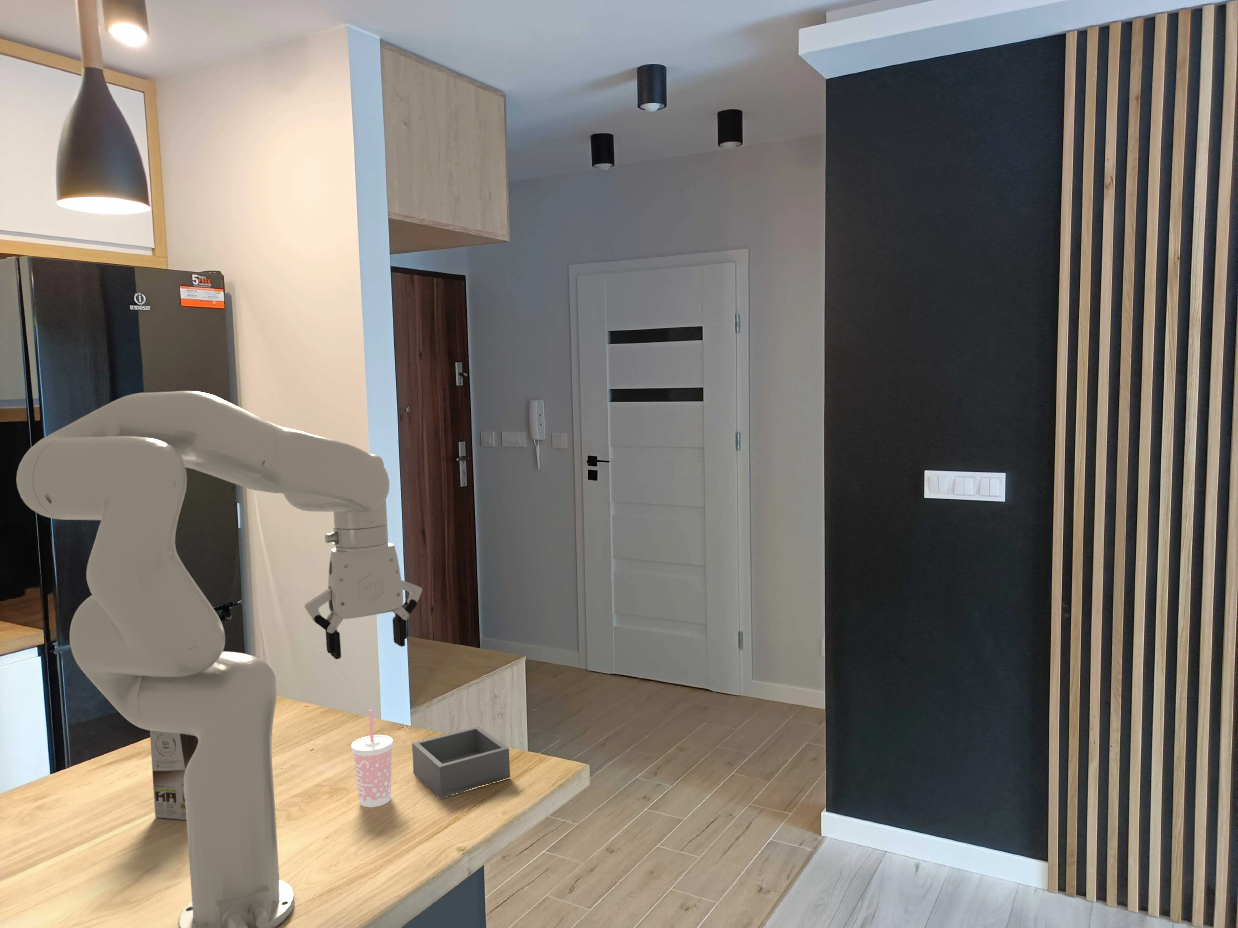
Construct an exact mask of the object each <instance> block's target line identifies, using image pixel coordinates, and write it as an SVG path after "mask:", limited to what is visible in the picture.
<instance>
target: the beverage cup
mask: <svg viewBox="0 0 1238 928" xmlns="http://www.w3.org/2000/svg"><path fill="white" fill-rule="evenodd" d="M368 717H369V720H368V721H369V732H370V733H369V735H367V736H363V737H360V738H357V739H355V740H354V741H352V742H351V745H350V747H351V751H352V754H353V759H354V760H353V761H354V768H355V776H356V785H357V791H358V792H357V793H358V801H359V802H358V803H359V804H360V806H363V807H367V808H375V807H381V806H383V805H385V804H387V803H388V802H390V801H391V799H392V795H391V794H392V750H393V749H392V748H393V747H394V739H393V738H392V737H391V736H389V735H385V734H374V721H373V720H374V718H373V709H369V710H368Z"/></svg>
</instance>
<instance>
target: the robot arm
mask: <svg viewBox="0 0 1238 928" xmlns="http://www.w3.org/2000/svg"><path fill="white" fill-rule="evenodd" d="M186 468H187V469H192V470H195V471H197V472H201V473H203V474H207V475H210V476H212V477H215V478H218V479H221V480H224V481H226V482H230V483H232V484H235V485H238V486H240V487H242V488H245V489H248V490H253V491H259V492H264V493H270V494H271V493H272V494H283V495H284V498H285V499H286V501H287V502H288V503H289V504H290V505H291V506H292V507H294V508H296V509H298V510H302V511H306V512H316V513H319V512H323V513H327V512H329V513H331V512H333V522H334V523H333V524H334V527H333V530H332V532H330V533H325V535H324V541H325V543H326V544H333V545H334V546H335V547H334V548H332V549H331V551H330V558H329V564H328V565H329V566H328V575H327V576H328V579H327V581H328V582H327V589H326V590H324V591H323V592H321V593H320V594H318V595H316V596H315V597H313V598H312V599H311V600H310V601H308V602H306V603H305V605H304V609H305V611H306V612H307V614H308V615H309V617H310V618H311V620H312V621H313V622H314V623H315V624H317V625H318V626H319V627H321V628H322V629H323V630H324V631H325V644H326V651H327V653H328V654H330V655H331V657H333V659H335V660H338V659H339V660H340V659H341V658H342V648H341V647H342V646H341V635H340V634H341V633H340V632H339V631H338V627H339V626H340V625H341V623H342V622H343V620H349V619H357V618H363V617H370V616H374V615H381V614H386V613H394V616H393V617H392V632H393V633H392V634H393V643H394V644H395V645H398V646H399V647H406V640H407V639H408V627H407V626H408V623H407V620H408V619H409V618H410V615H411V614H412V612H414V610H415V608H416V607H417V606H418V601H419V600H420V597H421V594H422V592H423V588H422V587H420V586H418V585H416V584H412V583H411V582H407V581H405V580H402V576H401V570H400V565H399V558H398V554H397V549H396V546H395V544H394V543H391V542H389V532H388V531H389V530H388V515H387V514H388V513H387V512H388V511H387V498H388V496H389V491H390V479H389V478H390V477H389V474H388V472H387V469H386V468H385V464H384V461H383V458H382V457H381V456H380V455H378V454H374V453H368V452H366V451H364V450H363V449H361V448H358V447H356V446H355V445H351V444H348V443H346V442H341V441H339V440H335V439H331V438H326V437H323V436H319V435H315V434H310V433H307V432H304V431H300V430H296V429H292V428H288V427H283V426H281V425H278V424H275V423H273V422H270V421H268V420H266V419H264V418H262V417H259V416H257V415H255V414H253V413H251V412H249V411H247V410H245V409H243V408H241V407H239V406H237V405H235V404H233V403H231V402H229V401H227V400H224V399H223V398H221V397H218V396H217V395H213V394H212V393H211V394H210V393H206V392H201V391H197V390H195V391H193V390H180V391H157V392H152V391H151V392H138V393H132V394H129V395H124V396H122V397H120V398H118V399H115V400H113V401H110V402H109V403H107V404H105V405H102V406H101V407H100V408H97V409H95V410H94V411H93V410H92V411H91V412H90V413H88V414H86V415H84V416H82V417H80V418H78V419H76V420H75V421H73V422H70V423H69V424H68V425H65V426H63V427H61V428H60V429H57V430H55V431H54V432H52V433H51V434H48V435H46V436H45V437H43V438H41V439H39V441H37V442H36V443H35V444H34V445H33V446H31V447H30V448H28V450H27V452H25V454H24V455H23V457H22V459H21V461H20V462H19V465H18V468H17V471H16V478H15V479H16V487H17V491H18V493H19V495H20V496H19V497H20V498H21V499H22V501H23V503H24V504H25V505H26V507H28V508H29V509H31V511H34V512H35V513H37V514H39V516H42V517H47V518H50V519H55V520H62V521H66V520H67V521H70V520H71V521H72V520H73V521H77V520H78V521H79V520H80V521H100V523H99V525H98V529H97V532H96V537H95V540H94V542H93V546H92V549H91V552H90V555H89V558H88V561H87V566H86V571H85V572H86V573H85V574H86V576H85V577H86V582H87V585H88V588H89V592H90V594H91V595H89V597H87V598H85V600H84V601H82V603H81V604H80V605H79V606H78V608H76V610H75V612H74V615H73V617H72V619H71V623H70V629H69V644H70V649H71V653H72V656H73V658H74V661H75V662H76V664H77V666H78V668H79V669H80V670H81V671H82V673H83V674H84V675H85V677H87V678H88V679H89V681H90V682H91V683H93V685H94V686H95V687H96V688H97V689H98V690H99V692H101V694H102V695H103V696H104V697H105V698H106V700H108V702H109V703H110V704H111V705H112V706H113V707H114V708H115V710H116V711H118V713H120V715H121V716H122V717H123V718H125V719H126V720H127V721H128V722H129V723H130V724H133V725H134V726H135V727H138V728H140V729H142V730H146V731H150V730H151V731H158V732H168V733H179V734H186V735H192V736H196V737H197V738H198V745H197V748H196V750H195V752H194V754H193V755H192V757H191V759H190V761H189V763H188V765H187V767H186V770H185V775H184V798H185V806H186V820H185V822H186V831H187V832H186V833H187V847H188V861H189V862H188V863H189V874H190V889H191V891H190V892H191V901H190V902H189V903H188V904H187V905H186V906H185V907H184V908H183V909H182V910H181V913H180V915H179V916H178V922H177V923H178V928H277V927H278V925H280V924H281V923H283V922H284V921H285V919H286V918H287V917H289V916H290V914H291V912H292V911H293V909H294V906H295V892H294V889H293V888H292V886H291V885H290V884H288V883H287V882H285V881H283V880H280V867H279V852H278V849H279V848H278V835H277V821H276V820H277V819H276V803H275V787H274V776H273V775H274V774H273V755H272V754H273V752H272V751H273V750H272V745H273V744H272V743H273V741H272V740H273V727H274V726H273V724H274V720H275V719H274V718H275V712H276V711H275V710H276V705H277V696H278V683H277V678H276V675H275V672H274V671H273V669H272V668H271V666H269V664H267V662H265V661H264V660H262V659H261V658H259V657H257V656H254V655H250V654H247V653H243V652H236V651H224V650H225V646H226V645H225V644H226V633H225V629H224V626H223V623H222V621H221V619H220V616H219V615H218V613H217V612H216V610H215V609H214V607H213V606H212V604H211V603H210V601H209V599H208V598H207V597H206V596H205V594H204V593H203V591H202V590H201V588H200V587H199V585H198V584H197V583H196V582H195V580H194V578H193V577H192V576H191V574H190V573H189V571H188V570H187V569H186V567H185V565H184V563H183V562H182V560H181V558H180V556H179V554H178V551H177V547H176V534H177V533H176V532H177V527H178V521H179V516H180V514H181V510H182V506H183V503H184V499H185V495H186V492H187V484H188V482H187V480H188V477H187V469H186ZM403 591H406V592H408V593H409V594H408V598H407V599H406V600H405V601H404V592H403ZM327 603H328V608H329V611H330V613H329V614H328V616H327V617H326V618H325V617H323V615H321V612H320V611H319V610H320V607H322V606H323V605H325V604H327Z"/></svg>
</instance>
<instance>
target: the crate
mask: <svg viewBox="0 0 1238 928" xmlns="http://www.w3.org/2000/svg"><path fill="white" fill-rule="evenodd" d="M411 748H412V768H413V770H412V771H413V774H414V775H415V776H416V777H417V778H418V779H419V780H420V781H422V782H423V783H424V784H425V785H426V786H427V787H428V789H429V790H431V789H432V790H431V791H432V792H433V791H434V792H433V793H434V794H435V793H436V794H437V795H438V796H439V797H440V798H443V799H445V798H444V797H446V798H448V797H447V796H450V795H452V794H456V793H460V794H462V793H461V792H464V791H466V790H469V789H472V788H475V787H478V786H482V785H486V784H490V783H493V782H497V781H500V780H503V779H506V778H509V777H510V778H511V772H510V771H511V769H510V768H511V767H510V747H508V746H506V745H505V744H503V743H502V742H501V741H499V740H498V739H496V738H495V737H494V736H492V735H491V734H489V733H488V732H487V731H486V730H484V729H483V728H481V727H480V726H475V727H470V728H467V729H466V728H465V729H462V730H459V731H455V732H451V733H446V734H443V735H438V736H434V737H430V738H426V739H423V740H422V739H421V740H418V741H414V742H411ZM464 793H465V792H464ZM436 794H435V795H436ZM437 795H436V796H437ZM438 796H437V797H438ZM439 797H438V798H439ZM450 797H451V796H450ZM440 798H439V799H440Z"/></svg>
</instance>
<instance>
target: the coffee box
mask: <svg viewBox="0 0 1238 928" xmlns="http://www.w3.org/2000/svg"><path fill="white" fill-rule="evenodd" d="M149 736H150V738H149V739H150V751H151V752H150V754H151V756H150V757H151V771H152V788H153V789H152V790H153V799H154V800H153V801H154V803H153V805H154V816H155V818H158V819H159V818H162V819H169V820H170V819H171V820H172V819H173V820H183V821H186V806H185V798H184V775H185V770H186V767H187V765H188V763H189V761H190V759H191V757H192V755H193V754H194V752H195V750H196V748H197V745H198V738H197V737H196V736H192V735H186V734H179V733H168V732H158V731H151V730H149Z"/></svg>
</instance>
